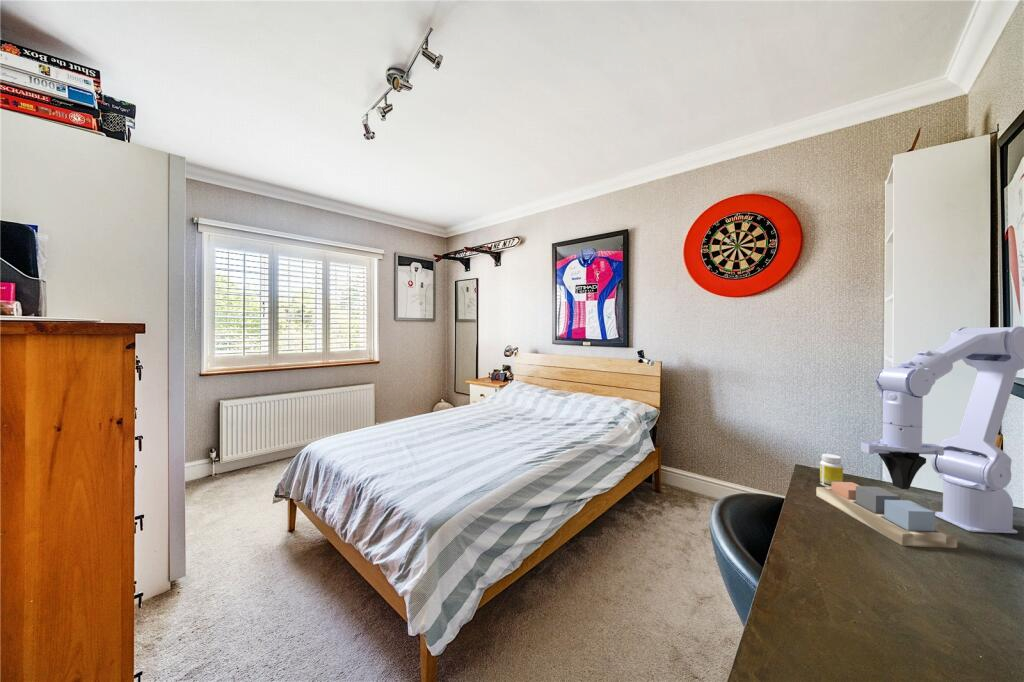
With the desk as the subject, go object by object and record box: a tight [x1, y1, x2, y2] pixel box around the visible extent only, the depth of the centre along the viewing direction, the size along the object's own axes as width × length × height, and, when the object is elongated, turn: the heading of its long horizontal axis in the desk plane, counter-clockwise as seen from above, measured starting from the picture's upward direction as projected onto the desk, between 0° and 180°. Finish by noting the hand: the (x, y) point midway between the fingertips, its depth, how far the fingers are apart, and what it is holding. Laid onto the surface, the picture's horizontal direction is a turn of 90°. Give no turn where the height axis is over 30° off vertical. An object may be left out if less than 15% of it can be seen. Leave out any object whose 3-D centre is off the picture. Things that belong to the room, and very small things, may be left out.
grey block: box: [856, 485, 901, 514], centre depth 82 cm, size 5×5×4 cm
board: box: [815, 486, 958, 549], centre depth 82 cm, size 10×22×2 cm, turn 176°
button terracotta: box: [831, 481, 860, 500], centre depth 89 cm, size 5×5×4 cm
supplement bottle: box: [819, 453, 844, 487], centre depth 99 cm, size 5×5×8 cm
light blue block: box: [884, 499, 936, 532], centre depth 75 cm, size 5×5×4 cm
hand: (900, 487), depth 76 cm, fingers closed
